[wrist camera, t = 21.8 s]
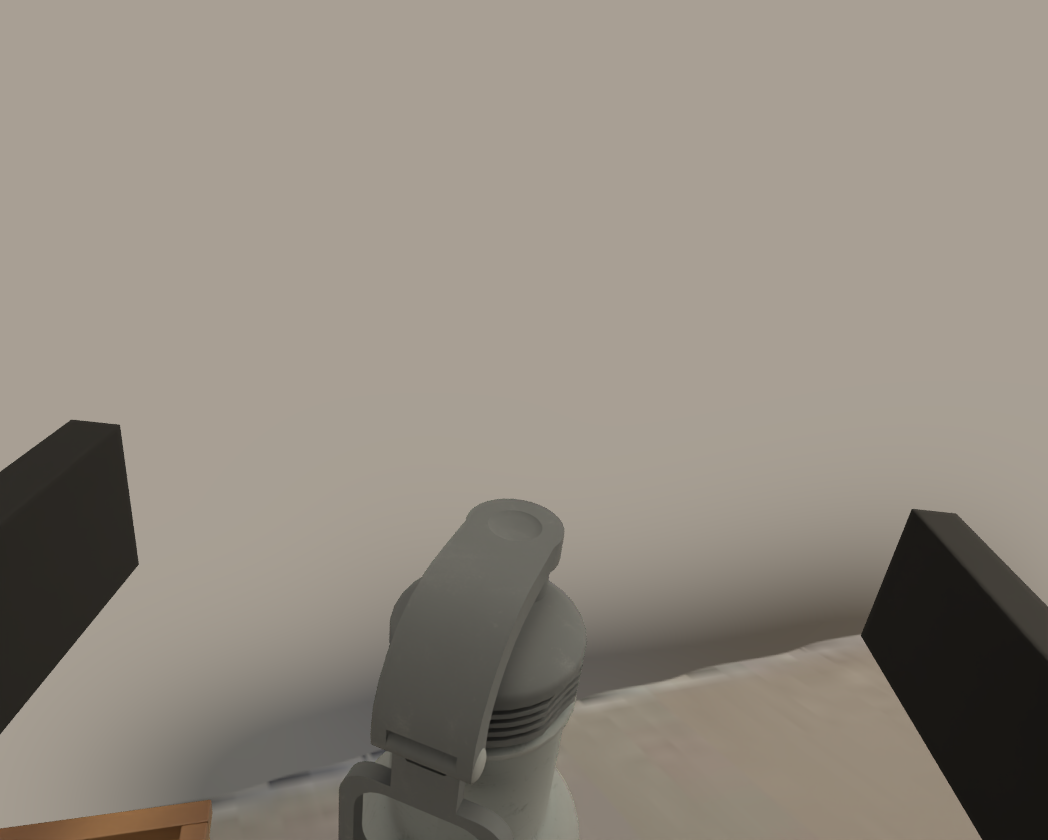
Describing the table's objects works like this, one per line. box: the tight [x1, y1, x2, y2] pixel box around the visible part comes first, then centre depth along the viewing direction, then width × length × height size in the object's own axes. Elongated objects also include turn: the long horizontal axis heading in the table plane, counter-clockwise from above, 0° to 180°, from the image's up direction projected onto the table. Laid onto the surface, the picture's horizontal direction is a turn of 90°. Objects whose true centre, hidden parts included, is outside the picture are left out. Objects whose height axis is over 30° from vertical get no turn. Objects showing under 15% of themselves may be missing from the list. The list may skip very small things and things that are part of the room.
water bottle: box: [339, 499, 586, 840], centre depth 30 cm, size 10×10×28 cm
